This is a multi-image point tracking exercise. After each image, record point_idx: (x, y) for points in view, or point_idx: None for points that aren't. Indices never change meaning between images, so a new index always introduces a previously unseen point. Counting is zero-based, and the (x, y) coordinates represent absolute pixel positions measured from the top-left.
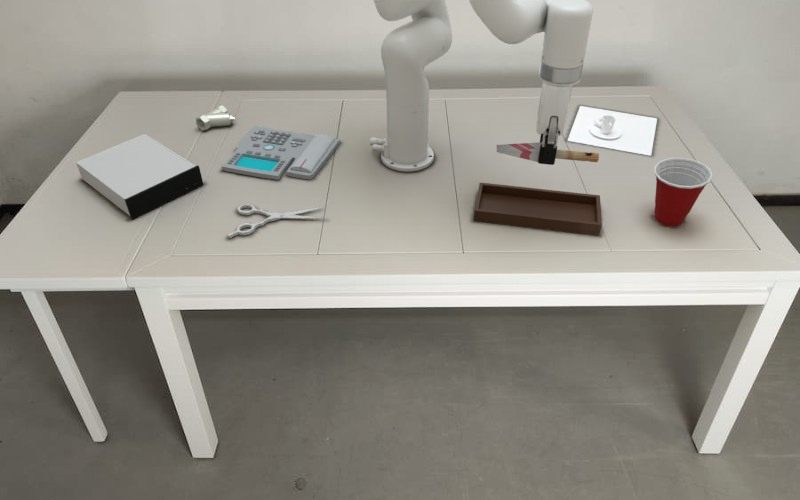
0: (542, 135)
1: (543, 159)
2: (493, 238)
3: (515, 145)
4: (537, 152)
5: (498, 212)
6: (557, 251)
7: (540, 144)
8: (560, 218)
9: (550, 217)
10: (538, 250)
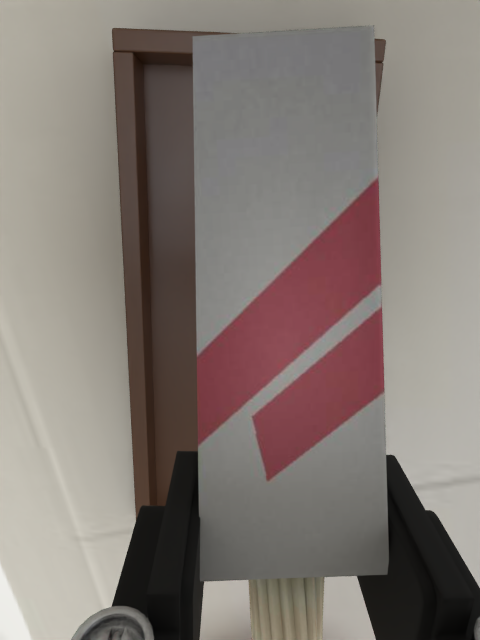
0: (422, 601)
1: (137, 520)
2: (28, 154)
3: (340, 271)
4: (201, 491)
5: (124, 164)
6: (25, 393)
7: (175, 595)
8: (142, 425)
9: (140, 390)
10: (9, 332)
